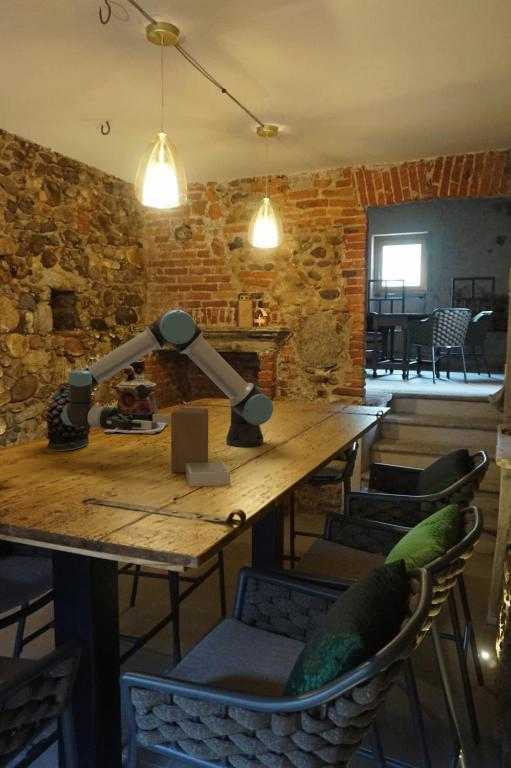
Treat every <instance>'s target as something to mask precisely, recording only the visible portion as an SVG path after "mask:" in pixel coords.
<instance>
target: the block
mask: <svg viewBox="0 0 511 768" xmlns="http://www.w3.org/2000/svg"><path fill="white" fill-rule="evenodd" d="M170 415H171V423H170V437H171V438H170V440H171V443H170V444H171V445H170V447H171V448H170V449H171V450H170V455H171V457H170V460H171V461H170V463H171V465H170V468H171V469H170V470H171V472H172V473H175V472H177V474H178V473H179V474H186V464H187V463H209V410H208V408H199V407H180V408H178V409H175V410H174V411H172V412H171V414H170Z"/></svg>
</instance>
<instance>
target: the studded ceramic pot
mask: <svg viewBox="0 0 511 768" xmlns="http://www.w3.org/2000/svg"><path fill="white" fill-rule="evenodd" d="M68 404H69V385H64V384H62V383H61V384H59V389H58V390H56V391H55V392H54V394H53V395H52V398H51V401H50V403H49V404H48V407H47V408H46V409H45V410H46V413H45V416H46V417H45V421H46V422H47V423H46V426H47V433H45V434H44V438H45V439H47V440H48V444H47V448H48V449H49V450H50V451H51V452H52V451H55V452H57V451H59V452H60V451H61V452H62V451H71V450H77V449H81V448H83V447H85V446H87V445H89V442H90V437H89V434H90V433H91V429H92V428H90V427H75V426H70V425H66V424H65V423H64V422H63V421H62V417H61V413H62V412H63V408H64V406H66V405H68Z"/></svg>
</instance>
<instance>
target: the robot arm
mask: <svg viewBox="0 0 511 768" xmlns="http://www.w3.org/2000/svg"><path fill="white" fill-rule="evenodd" d="M203 335H204V334H203V330H202V329H201V327H199V325H197V324H196V323H195V320H194V319H193V317H192V316H191V315H190V314H189V313H188V312H186V311H184V310H180V309H173V310H169V311H165V312H164V313H162V314H161V315H160V316H159V317H158V318H156V319H155V320H154V321H153V322H152V323H150V324H149V325H147V326H146V327H145V330H144V331H143V332H141V333H139V334H138V335H136V336H135V337H133V338H131V339H130V340H128V341H127V342H125V343H124V344H122V345H120V346H119V347H117V348H115V349H113V351H111V352H109V353H107V354H106V355H105V356H103V357H102V358H100V359H98V360H96V361H95V362H94V363H92V364H90V365H89V366H87V367H86V368H84V369H82V370H81V369H80V370H70V371H69V373H68V386H69V404H68V405H66V406H64V408H63V412H62V413H61V417H62V421H63V422H64V423H65V424H66V425H70V426H75V427H90V428H91V429H96V431H99V430H100V429H104V430H108V429H111V430H113V429H116V428H121V429H127V428H128V431H131V430H132V429H144V430H152V421H153V422H159V423H167V424H171V414H159V413H157V414H155V413H154V412H152V413H129V412H128V413H122V414H120V413H119V410H118V409H117V408H116V407H113V406H112V407H110V406H101V405H100V406H99V405H92V404H93V401H92V396H93V395H92V394H93V392H92V389H94V388H96V387H97V386H99V385H100V384H102V383H103V382H105V381H106V380H107V379H110V378H111V377H113V376H114V375H116V374H117V373H119V372H120V371H122V370H123V369H124V370H125V368H126V367H127V366H128V365H130V364H132V363H133V362H135V361H139V359H141V358H142V357H144V356H146V355H148V354H149V353H150V352H152V351H154V350H155V349H161V348H163V347H165V346H167V345H169V344H170V346H172V347H173V348H174V349H175V350H176V351H177V352H178V353H179V354H185V355H186V356H187V357H188V358H189V359H190V360H191V361H192V362H193V363H194V364H195V365H196V366H197V367H198V368H199V369H200V370H201V371H202V372H203V373H204V374H205V375H206V376H207V377H208V378H209V379H210V380H211V381H212V382H213V383H214V384H215V385H216V386H217V387H218V388H219V390H221V391H222V392H223V394H225V395H226V396H227V397H228V398H229V400H230V401H229V405H230V425H229V429H228V432H227V434H226V439H225V444H226V445H229V446H232V447H240V448H241V447H243V448H248V447H249V448H251V447H259V446H261V445H264V435H263V433H262V429H261V425H264V424H265V423H267V422H269V420H270V419H271V417H272V416H273V411H274V404H273V401H272V399H270V397H269V396H268V395H266V394H264V393H263V392H262V391H261V389H260V387H259V386H256V385H255V384H254V383H252V382H247V381H245V380H244V379H243V377H241V375H240V374H239V373H237V371H236V370H235V369H234V367H232V365H230V364H229V363H228V362H227V361H226V360H225V359H224V358H223V356H221V355H220V354H219V352H217V350H216V349H215V348H214V347H213V346H212V345H211V344H210V343H209V342H208V341H207V340H206V339H205V338H204V337H203ZM131 420H132V421H131Z"/></svg>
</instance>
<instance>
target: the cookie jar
mask: <svg viewBox="0 0 511 768" xmlns="http://www.w3.org/2000/svg"><path fill="white" fill-rule="evenodd" d="M145 363H146V359H145V358H144V359H143V360H140V361H139V360H136V361H135V362H133V363H132V364H130V365H128V366H127V367H125V368H124V370H123V373H124V374H125V375H126V376H127V377H126V379H124V380H123V381H120V382H119V383H117V384H116V386H115V388H116V389H117V390H116V391H117V396H116V397H117V402H116V403H117V404H116V407H117V409H118V410H119V413H120V414H122V413H128V412H129V413H152V412H154V413H155V414H159V410H158V406H157V395H156V391H155V390H156V388H157V384H156V383H155V382H151V381H150V380H149V379H148V378H146V375H147V374H146V373H147V370H148V369H147V367H146V364H145ZM131 421H132V420H131ZM166 426H168V423H159V422H153V421H152V430H144V429H132V430H131V431H128V428H127V429H121V428H116V429H113V430H111V429H104V430H103V432H104V433H105V432H106V433H116V432H117V433H124V434H150V435H152V434H155V433H158V432H159V433H160V432H161V431H163V429H164V428H165V427H166ZM106 433H105V434H106Z"/></svg>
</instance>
